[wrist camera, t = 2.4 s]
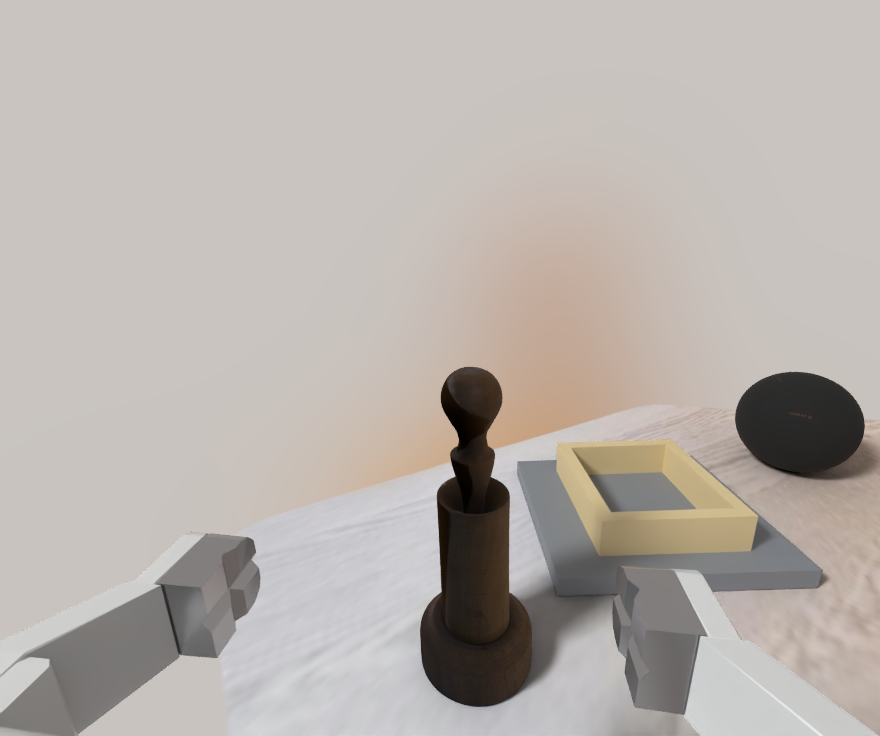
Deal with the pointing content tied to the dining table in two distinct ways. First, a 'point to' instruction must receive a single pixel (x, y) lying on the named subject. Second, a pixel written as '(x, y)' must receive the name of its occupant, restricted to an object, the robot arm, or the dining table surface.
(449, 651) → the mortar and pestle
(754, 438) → the speaker
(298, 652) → the dining table surface
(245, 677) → the dining table surface
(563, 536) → the holder
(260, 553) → the dining table surface
